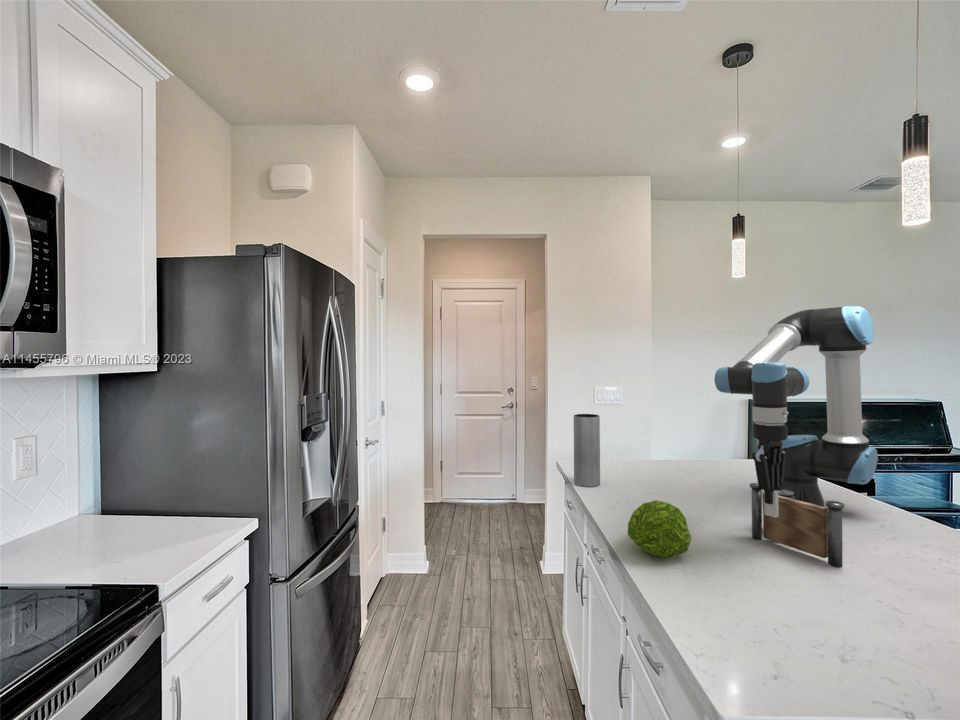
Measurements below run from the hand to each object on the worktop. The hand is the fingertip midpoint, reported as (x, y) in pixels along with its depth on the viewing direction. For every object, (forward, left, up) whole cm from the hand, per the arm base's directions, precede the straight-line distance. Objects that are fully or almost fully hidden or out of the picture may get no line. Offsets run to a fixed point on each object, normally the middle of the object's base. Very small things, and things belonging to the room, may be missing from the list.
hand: (771, 515), depth 123 cm
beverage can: (-15, -6, -10) cm, 19 cm away
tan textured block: (-8, -4, -9) cm, 13 cm away
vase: (-3, -74, -10) cm, 75 cm away
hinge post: (-6, +12, -9) cm, 16 cm away
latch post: (-6, -8, -9) cm, 13 cm away
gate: (-5, +2, -8) cm, 10 cm away
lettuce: (+21, -16, -10) cm, 28 cm away
